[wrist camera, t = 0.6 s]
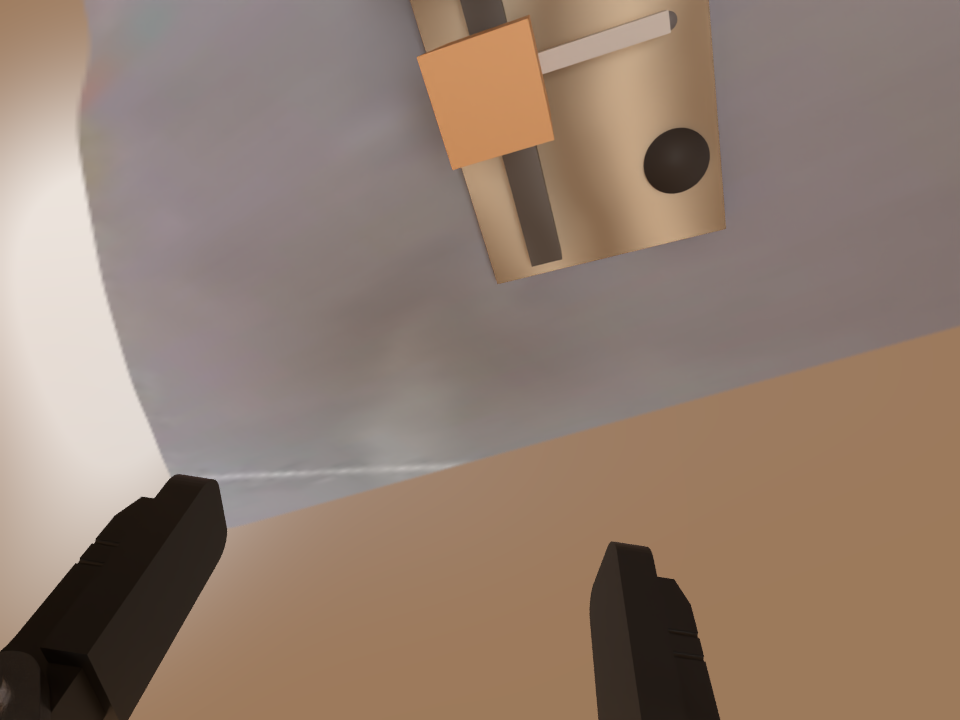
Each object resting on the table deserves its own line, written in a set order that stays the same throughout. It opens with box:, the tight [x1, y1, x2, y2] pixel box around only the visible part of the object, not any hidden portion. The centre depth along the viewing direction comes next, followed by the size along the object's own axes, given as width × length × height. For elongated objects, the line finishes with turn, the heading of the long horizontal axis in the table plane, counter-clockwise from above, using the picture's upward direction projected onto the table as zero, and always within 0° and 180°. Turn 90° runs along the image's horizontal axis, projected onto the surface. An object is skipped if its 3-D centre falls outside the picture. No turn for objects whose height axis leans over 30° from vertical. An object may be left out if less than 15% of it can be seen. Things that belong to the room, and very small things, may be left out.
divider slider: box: [417, 10, 677, 170], centre depth 21 cm, size 9×4×8 cm, turn 107°
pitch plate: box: [410, 0, 726, 284], centre depth 21 cm, size 12×20×10 cm, turn 17°
